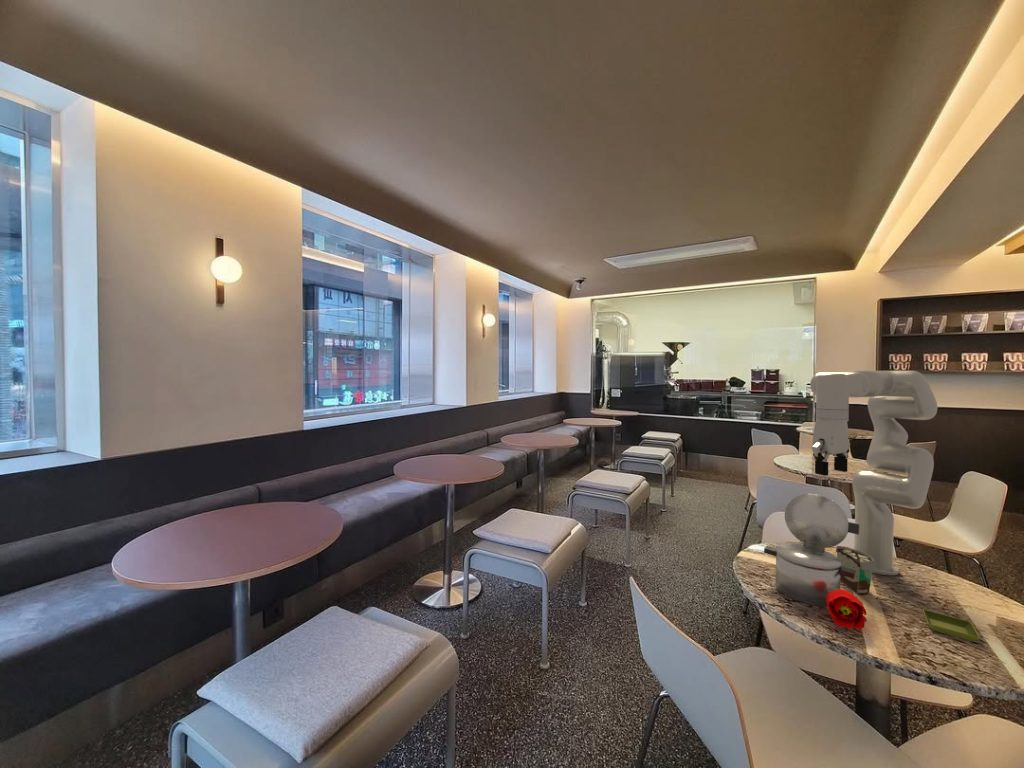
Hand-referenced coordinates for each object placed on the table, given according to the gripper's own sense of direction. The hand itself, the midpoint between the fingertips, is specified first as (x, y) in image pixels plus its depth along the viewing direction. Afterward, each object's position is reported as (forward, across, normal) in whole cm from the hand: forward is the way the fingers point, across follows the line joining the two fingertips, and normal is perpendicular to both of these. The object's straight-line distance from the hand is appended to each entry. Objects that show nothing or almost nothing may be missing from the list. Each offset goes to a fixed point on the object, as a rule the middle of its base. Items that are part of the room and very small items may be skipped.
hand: (831, 472), depth 118 cm
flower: (+34, +17, +12) cm, 39 cm away
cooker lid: (+16, +1, -3) cm, 16 cm away
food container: (+35, -7, +4) cm, 36 cm away
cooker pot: (+34, +10, -1) cm, 35 cm away
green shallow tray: (+35, -4, +24) cm, 42 cm away
